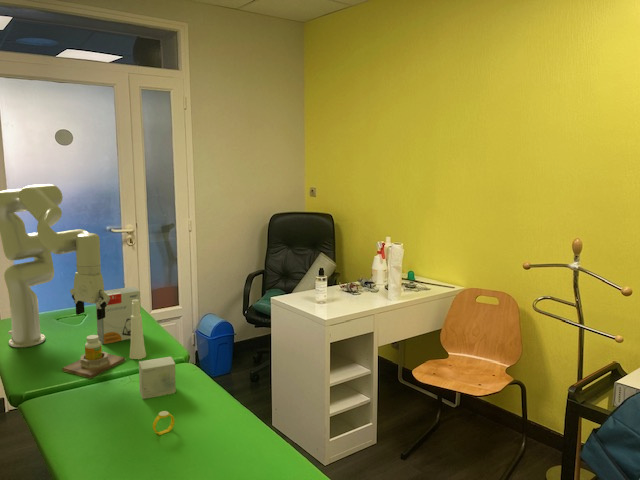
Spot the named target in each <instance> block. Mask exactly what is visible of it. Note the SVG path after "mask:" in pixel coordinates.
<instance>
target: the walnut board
mask: <svg viewBox="0 0 640 480" xmlns="http://www.w3.org/2000/svg"><path fill="white" fill-rule="evenodd" d="M125 361H126V357H123V356H119V355H115V354H112V353H108V352H106V351H102V358H100V359H97V360H86V357H85V353H84V354H81V355H80V359H79V360H77V361H74V362H72V363H70V364H68V365H65V366H63V367H62V372H64V373H65V372H66V373H69V374H73V375H77V376H80V377H84V378H88V379H93V378H95V377H97V376H98V375H100V374H102V373H104V372H106V371H108V370H110V369H112V368H115V367H116V366H118V365H119V364H122V363H124V362H125Z"/></svg>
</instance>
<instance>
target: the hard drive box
mask: <svg viewBox="0 0 640 480" xmlns="http://www.w3.org/2000/svg"><path fill="white" fill-rule="evenodd" d="M104 292H105V293H106V294H107V295H108V296H109V297H110V300H109V304H108V305H107V307H105V318H103V319H100V320H98V319H97V318H96V332H97V334H96V335H98V336H99V341H100V342H101V345H106V344H107V345H108V344H113V343H116V342H121V341H126V340H131V315H132V303H133V302H132V300H135V299H137V300H139V303H140V304H141V290H139V289H138V288H136V287H135V286H128V287H122V288H115V289H107V290H104ZM99 303H100V305H101V302H99ZM95 308H96V309H95V310H96V312H95V313H96V315H97V309H98V307H97V305H96V304H95ZM141 311H142V310H141V309H140V315H141V314H142V313H141ZM141 316H142V315H141Z"/></svg>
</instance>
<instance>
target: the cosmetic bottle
mask: <svg viewBox="0 0 640 480" xmlns="http://www.w3.org/2000/svg"><path fill="white" fill-rule="evenodd" d="M132 302H133V303H132V315H131V339H130V347H129V359H130V358H131V360H133V359H138V360H143V359H144V358H146V357H147V352H146V347H145V340H144V339H145V338H144V330H143V329H144V328H143V318H142V315H140V310H141V302H140V303H139V300H137V299H135V300H132ZM142 358H143V359H142Z"/></svg>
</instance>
